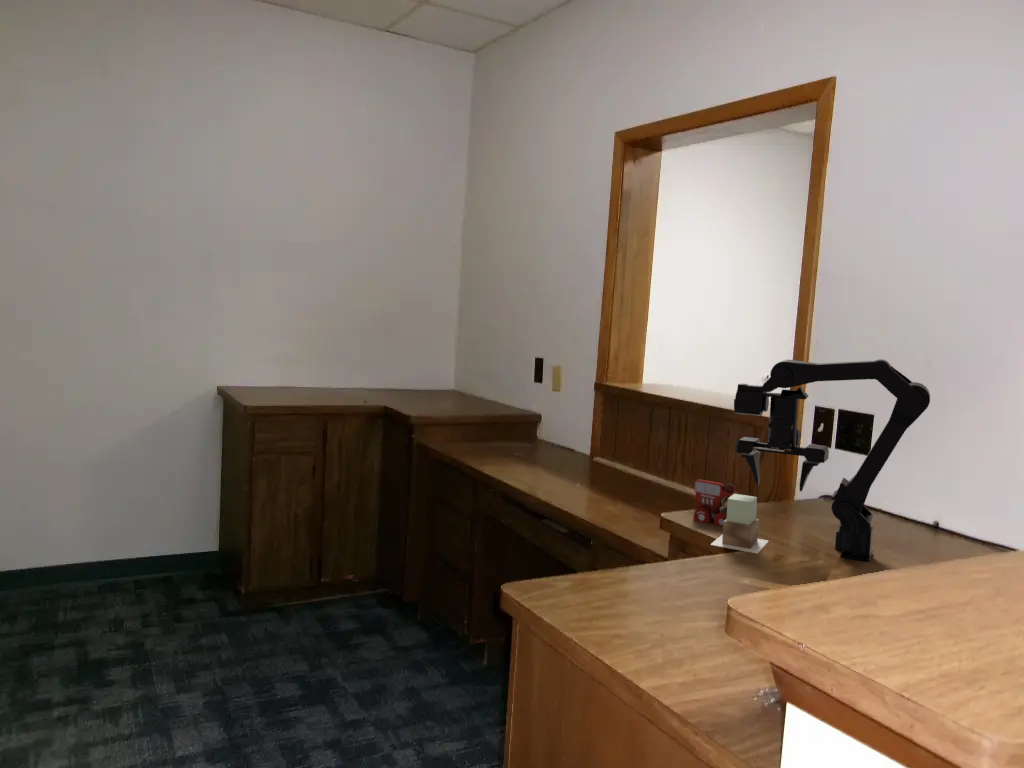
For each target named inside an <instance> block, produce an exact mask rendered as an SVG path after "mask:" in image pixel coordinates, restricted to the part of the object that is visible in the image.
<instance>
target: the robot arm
mask: <svg viewBox="0 0 1024 768" xmlns="http://www.w3.org/2000/svg"><path fill="white" fill-rule="evenodd" d="M857 380H858V381H859V380H862V381H863V380H876V381H877V382H878V383H879V384H880V385H882V386H883V387H884V388H885V389H886V391H888V392H889V393H890V394H891V395H892V396H894V397H895V398H896V401H895V403H894V406H893V409H892V411H891V414H890V417H889V419H888V421H887V423H886V424H885V426H884V428H883V429H882V430H881V432H880V434H879V436H878V438H877V439H876V441H875V442H874V444H873V446H872V447H871V448H870V450H869V452H868V454H867V455H866V457H865V459H864V461H863V462H862V464H861V465H860V467H859V468H858V470H857V472H856V473H855V475H853V477H852V478H851V479H849V480H848V479H847V478H845V477H843V478H842V479H841V481H840V483H839V487H838V488H837V489H836V490H834V492H833V493H832V496H831V498H830V499H831V500H832V504H831V512H832V514H833V516H834V517H835V518H836V519H837V520H838V521H839V522H840V525H838V526H839V527H838V529H837V531H836V532H835V542H834V543H835V544H834V545H835V547H834V550H837V551H841V552H842V553H841V555H840V557H841V558H847V559H852V560H858V561H865V562H869V561H870V560H871V559H872V556H873V554H874V552H873V551H872V549H873V537H874V534H873V533H874V527H873V526H872V521H873V518H874V515H873V513H872V512H871V511H870V510H869V509H868V507H867V506H865V503H866V500H867V497H868V495H869V492H870V489H871V487H872V485H873V483H874V482H875V480H876V479H877V477H878V475H879V474H880V472H881V470H882V469H883V467H884V466H885V464H886V463H887V461H888V459H889V458H890V456H891V454H892V453H893V451H894V450H895V448H896V446H897V444H898V443H899V441H900V440H901V438H902V437H903V436H904V433H905V432H906V431H907V430H908V428H909V427H911V426H912V425H913V423H915V421H917V419H918V418H919V417H920V416H921V415H922V414H923V413H924V412H925V411H926V410H927V408H928V407H929V405H930V402H931V393H930V391H929V389H928V388H927V386H926V385H924V384H923V383H921V382H915V381H912V380H910V379H909V378H908V377H907V376H906V375H904V374H903V373H902V372H900V371H899V370H898V369H896V368H895V367H893V366H892V365H891V364H890V362H889V361H888V360H886V359H883V358H879V359H875V360H867V361H866V360H865V361H864V360H863V361H844V362H843V361H842V362H822V363H819V362H818V363H817V362H810V361H804V360H796V359H795V360H794V359H784V360H781V361H778V362H777V363H776V364H774V365H773V366H772V368H771V370H770V377H769V378H768V379H767V380H766V382H763V384H762V385H757V384H756V385H755V384H748V383H743V382H742V383H738V384H737V390H736V393H735V396H734V397H735V398H734V399H733V412H734V414H737V415H747V416H759V417H761V416H762V415H763V414H764V412H765V413H767V412H768V410H769V422H768V428H767V435H766V436H767V437H768V441H767V443H766V442H761V441H760V438H758V437H749V436H743V437H741V438H740V439H738V440H737V441H736V443H735V453H739V454H740V456H741V457H742V458H744V459H745V461H746V462H747V464H748V466H749V469H750V470H751V473H752V476H753V478H754V482H755V484H756V486H759V485H760V484H761V483H760V481H761V465H760V459H761V452H767V453H774V454H781V455H783V454H784V455H790V456H792V455H793V456H801V457H804V458H805V459H804V461H803V462H802V466H801V470H800V479H799V492H803V490H804V487H805V485H806V483H807V480H808V478H809V475H810V473H811V472H812V470H813V468H814V467H817V466H819V465H820V464H822V463H823V464H824V463H826V462H827V461H828V460H829V454H830V449H829V447H828V446H827V445H823V444H821V445H819V444H812V443H811V444H810V443H809V444H808V445H807V446H806V447H803V446H800V444H801V436H802V431H800V430H799V429H798V428H799V427H798V413H799V411H798V410H799V400H807V399H808V398H809V394H808V393H807V392H806V391H805V390H804V389H803V387H802V386H803V385H807V384H811V383H815V382H816V383H817V382H834V381H835V382H836V381H857ZM797 386H800V387H798V388H797V389H796V390H794V389H789V388H793V387H797ZM779 388H780V389H781V391H780V393H779V392H773V391H775V390H777V389H779ZM769 405H770V408H769Z"/></svg>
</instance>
